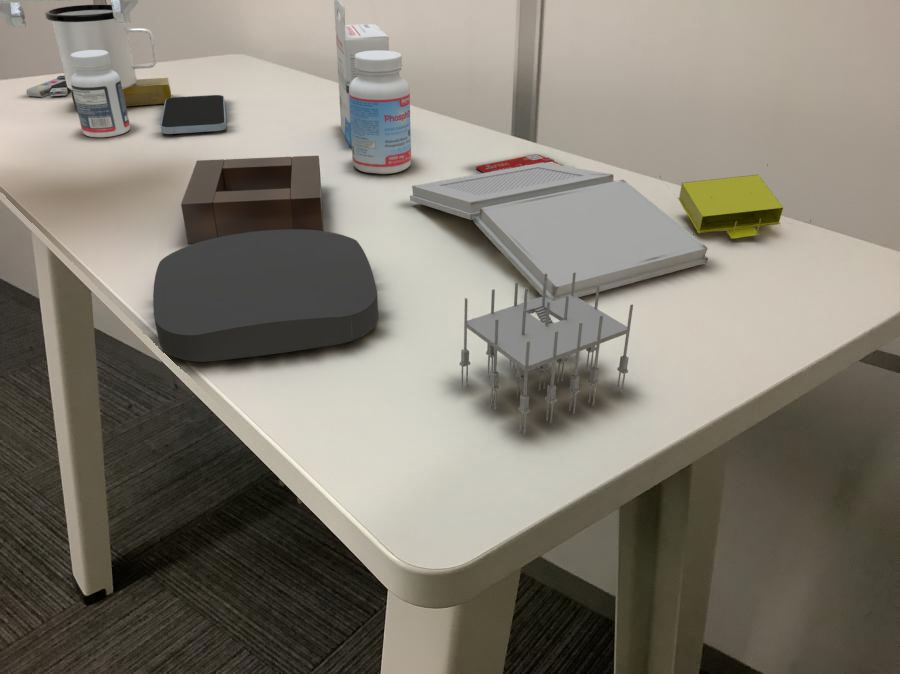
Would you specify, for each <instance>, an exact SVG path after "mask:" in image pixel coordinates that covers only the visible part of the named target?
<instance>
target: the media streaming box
mask: <svg viewBox="0 0 900 674" xmlns="http://www.w3.org/2000/svg"><path fill="white" fill-rule="evenodd" d="M377 289H378V288H377V284H376V280H375V277H374V273H373V270H372V266H371V264H370V261H369V259H368V257H367V255H366V252H365V251H364V249H363V247H362V246H361V244H360V243H359V242H358V240H356V239H354V238H353V237H350V236H347V235H345V234H340V233H336V232H331V231H325V230H324V231H318V230H301V229H286V230H266V231H255V232H247V233H240V234H233V235H228V236H222V237H218V238H213V239H209V240H205V241H201V242H198V243H191V244H190V245H187V246H185V247H182V248H179V249H178V250H175V251H173V252H171V253H169V254H168V255H166V256H164V257H163V258H162V259H161V260H160V261H159V263H158V265H157V268H156V271H155V275H154V281H153V290H152V291H153V293H152V294H153V295H152V296H153V297H152V303H153V304H152V305H153V306H152V307H153V320H154V324H155V329H156V333H157V337H158V342H159V345H160V348H161V349H162V350H163V351H164V352H165V353H167V354H168V355H170V356H171V357H174V358H177V359H180V360H183V361H189V362H200V363H201V362H202V363H203V362H204V363H205V362H216V361H227V360H234V359H242V358H243V359H244V358H251V357H253V358H254V357H261V356H269V355H275V354H283V353H284V354H285V353H290V352H298V351H305V350H311V349H318V348H323V347H330V346H334V345H335V346H336V345H343V344H346V343H349V342H352V341H355V340H357V339H359V338H361V337H363V336H365V335H366V334H368V333H369V332H371V330H373V329H374V327H375V326H376V325H377V323H378V320H379V305H378V304H379V301H378V290H377Z"/></svg>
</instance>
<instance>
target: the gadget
mask: <svg viewBox="0 0 900 674" xmlns="http://www.w3.org/2000/svg"><path fill="white" fill-rule="evenodd" d="M561 165H562V164H561ZM561 165H555V164H549V163H537V164H532V165H526V166H521V167H515V168H509V169H504V170H498V171H493V172H487V173H484V172H482V173H477V174H472V175H466V176H460V177H454V178H448V179H443V180H437V181H432V182H426V183H420V184H415V185H412V186H411V189H412V194H411V195H409V201H410V202H413V203H416V204H419V205H423V206H426V207H429V208H432V209H434V210H435V209H436V210H437V211H442V212H444V213H448V214H450V215H453V216H457V217H460V218H463V219H466V220H469V221H473V223H474V224H475V226H476V227H478V229H479V230H480V231H481V232H482V233H483V234H484V235H485V236H486V237H487V238H488V239H489V241H490V242H491V243H492V244H493V245H494V246H495V247H496V248H497V249H498V250H499V251H500V253H502V255H504V257H505V258H506V259H507V260H508V261H509V262H510V263H511V264H512V265H513V267H515V269H516V270H517V271H518V272H519V273H520V274H521V275H522V276H523V277H524V278H525V279H526V281H528V283H529V284H530V285H531V286H532V287H533V288H534V289H535V290H536V291H537V292H538V294H540V295H541V297H542V296H543V284H544V275H545V273H547V286H546V297H548V298H550V299H551V300H553V301H555V300H558V299H561V298H564V297H566V295H568V296H570V295H571V289H572V279H573V273H574V272H576V277H575V287H574V296H576V297H578V298H581V297H585V296H588V295H592V294H596V290H597V285H599V286H600V289H599V293H601V292H605V291H607V290H612V289H616V288H619V287H622V286H626V285H629V284H633V283H638V282H641V281H645V280H648V279H652V278H656V277H661V276H663V275H667V274H671V273H675V272H678V271H682V270H686V269H690V268H692V267H697V266H701V265H704V264H707V263H708V260H709V257H708V256H707V255H706V253H707V251H708V249H709V248H708V246H706V245H705V244H704V243H703V242H701V241H700V240H699V239H698V238H696V237H695V235H694V236H693V234H691V232H689V231H687V229H685V228H684V227H683V226H682V225H681V224H679V223H678V222H676V221H675V220H674V219H673V218H672V217H671V216H670V215H668V214H667V213H665V212H664V211H663V210H662V209H660V208H659V207H658V206H657V205H656V204H654V203H653V202H652V201H651V200H650V199H648V198H647V197H646V196H645V195H643V194H642V193H641V192H639V190H637V189H636V188H635V187H633V185H631V184H630V183H629V182H627V181H626V180H624V179H619V180H614V174H612V173H607V172H600V171H595V170H589V169H583V168H577V167H572V166H565V165H563V166H561Z"/></svg>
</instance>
